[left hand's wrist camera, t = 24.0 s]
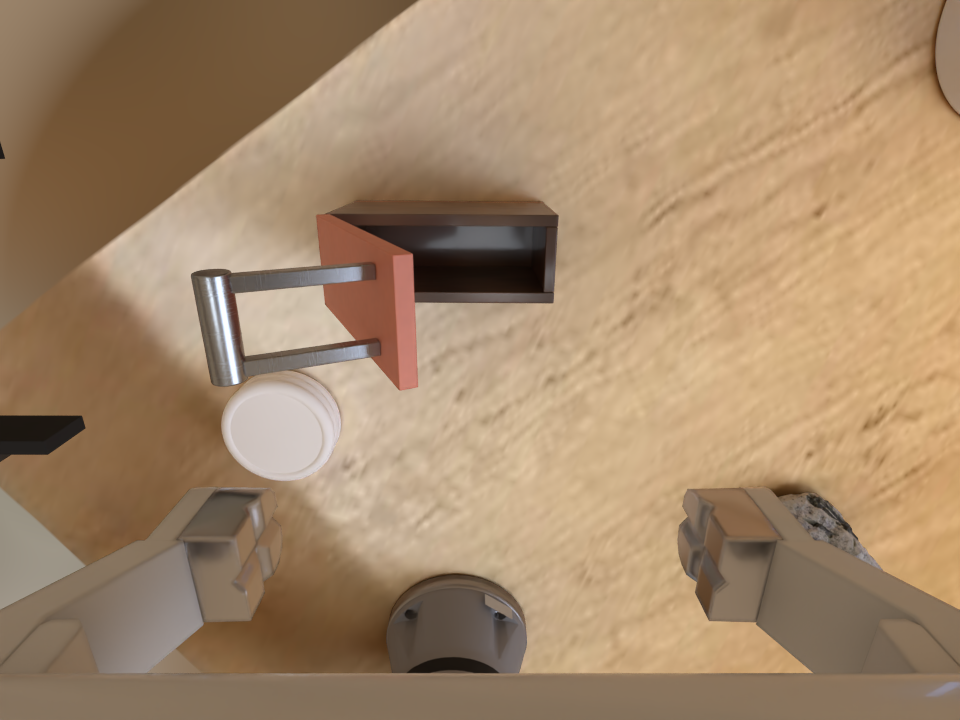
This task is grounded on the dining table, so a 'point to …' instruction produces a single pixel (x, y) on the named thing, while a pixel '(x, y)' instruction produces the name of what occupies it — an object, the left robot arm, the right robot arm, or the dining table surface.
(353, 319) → the lid
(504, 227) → the chest
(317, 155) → the dining table surface
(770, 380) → the dining table surface
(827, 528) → the rock
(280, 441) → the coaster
